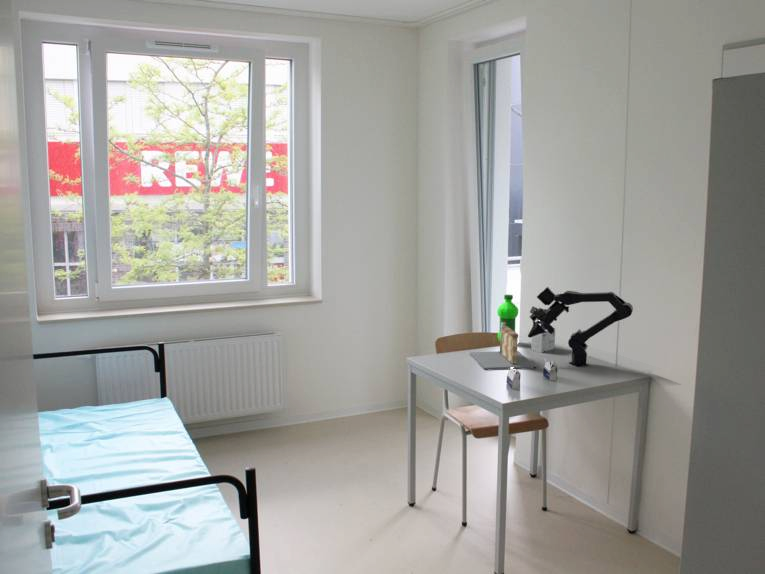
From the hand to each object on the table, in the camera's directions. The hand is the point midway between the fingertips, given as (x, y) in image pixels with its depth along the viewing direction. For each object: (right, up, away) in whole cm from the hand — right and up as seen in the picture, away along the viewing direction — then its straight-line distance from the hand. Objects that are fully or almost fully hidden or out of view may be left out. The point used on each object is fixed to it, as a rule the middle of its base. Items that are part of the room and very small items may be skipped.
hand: (528, 336), depth 312 cm
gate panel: (-8, -10, +3) cm, 14 cm away
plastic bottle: (-3, -6, +37) cm, 37 cm away
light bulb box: (+12, -8, +25) cm, 29 cm away
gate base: (-11, -12, +5) cm, 17 cm away
